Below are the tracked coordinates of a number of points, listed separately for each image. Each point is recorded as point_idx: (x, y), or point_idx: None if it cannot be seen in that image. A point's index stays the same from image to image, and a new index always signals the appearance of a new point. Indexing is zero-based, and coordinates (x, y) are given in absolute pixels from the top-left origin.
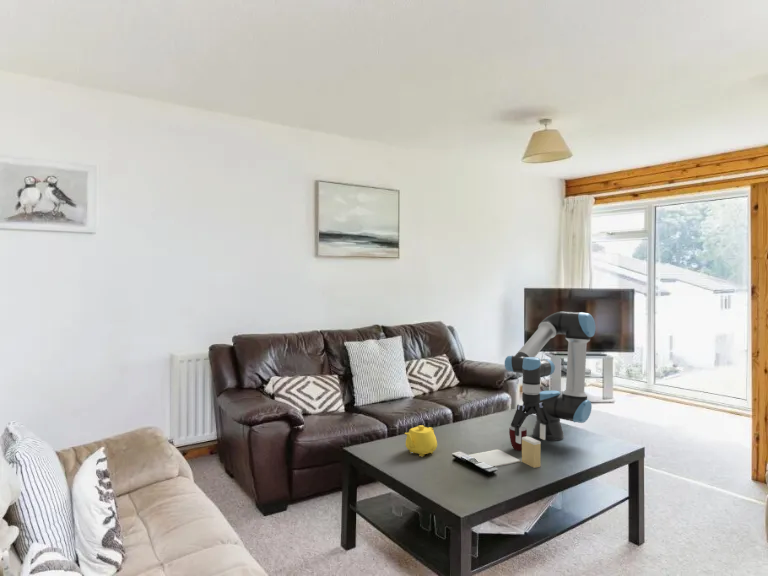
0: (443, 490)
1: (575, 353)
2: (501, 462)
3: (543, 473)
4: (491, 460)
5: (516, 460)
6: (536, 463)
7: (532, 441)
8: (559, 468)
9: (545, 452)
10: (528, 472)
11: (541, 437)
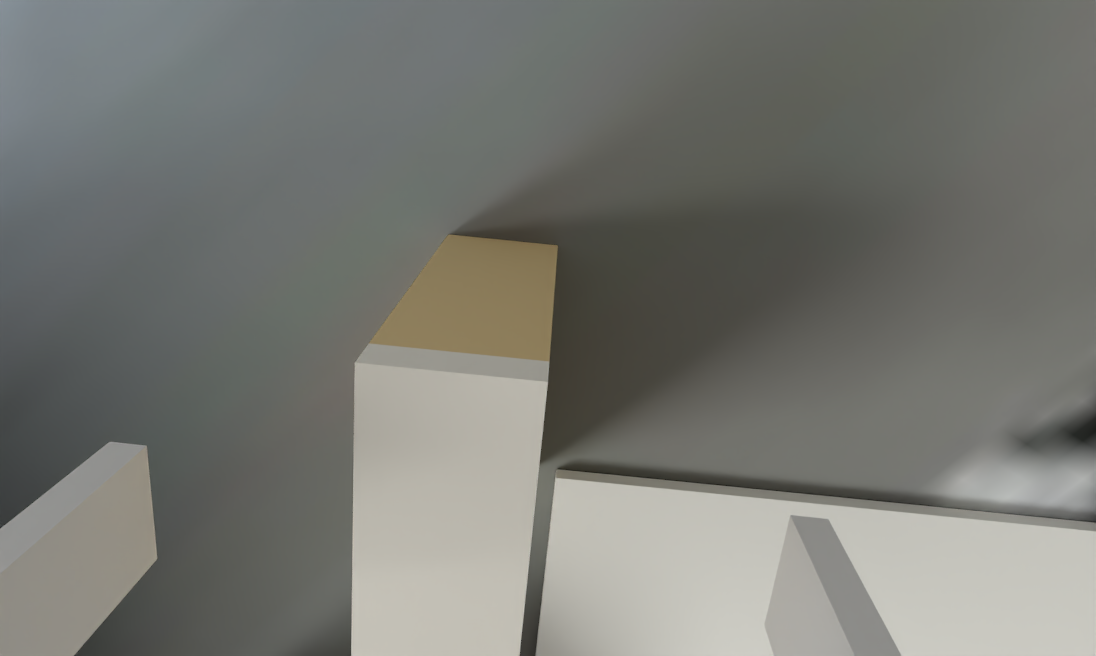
0: None
1: None
2: None
3: (602, 33)
4: None
5: (598, 502)
6: (514, 254)
7: (518, 457)
8: (260, 42)
9: None
10: (749, 173)
11: (136, 534)
